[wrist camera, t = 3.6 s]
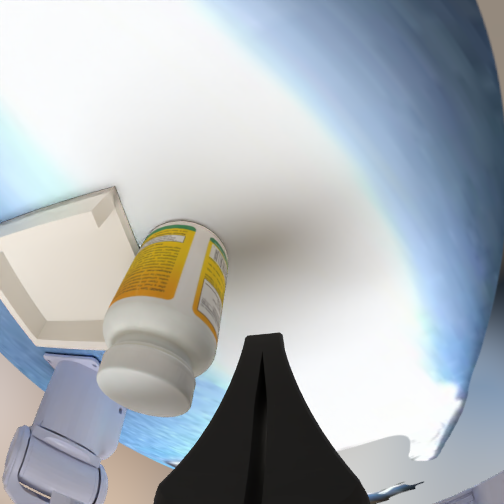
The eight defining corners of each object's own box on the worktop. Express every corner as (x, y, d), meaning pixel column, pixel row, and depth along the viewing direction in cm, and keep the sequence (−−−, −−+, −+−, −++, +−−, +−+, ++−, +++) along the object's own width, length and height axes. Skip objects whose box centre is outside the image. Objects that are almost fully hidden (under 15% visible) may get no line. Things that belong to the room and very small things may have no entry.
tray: (171, 318, 22) (162, 350, 19) (49, 322, 23) (36, 346, 21) (114, 186, 16) (91, 211, 13) (-9, 226, 17) (-31, 247, 15)
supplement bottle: (246, 247, 18) (237, 398, 10) (202, 300, 20) (178, 432, 12) (165, 200, 16) (92, 336, 8) (132, 263, 19) (74, 390, 11)
